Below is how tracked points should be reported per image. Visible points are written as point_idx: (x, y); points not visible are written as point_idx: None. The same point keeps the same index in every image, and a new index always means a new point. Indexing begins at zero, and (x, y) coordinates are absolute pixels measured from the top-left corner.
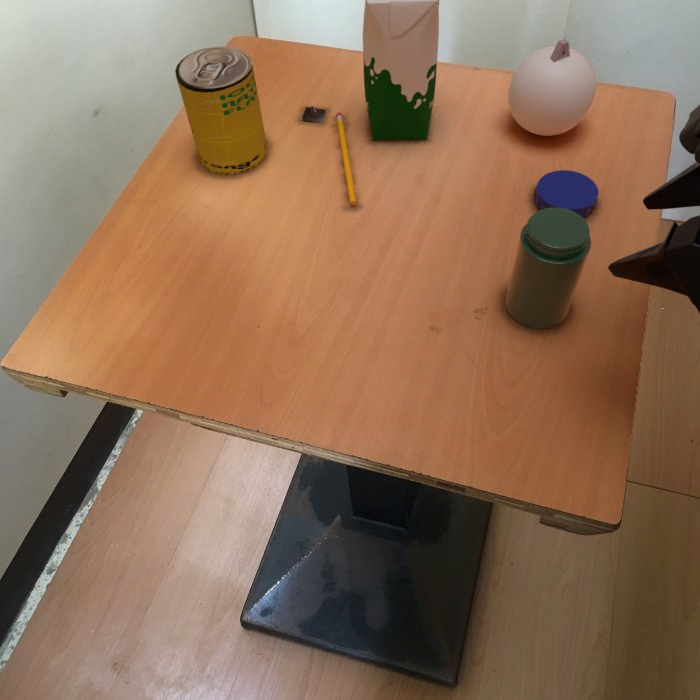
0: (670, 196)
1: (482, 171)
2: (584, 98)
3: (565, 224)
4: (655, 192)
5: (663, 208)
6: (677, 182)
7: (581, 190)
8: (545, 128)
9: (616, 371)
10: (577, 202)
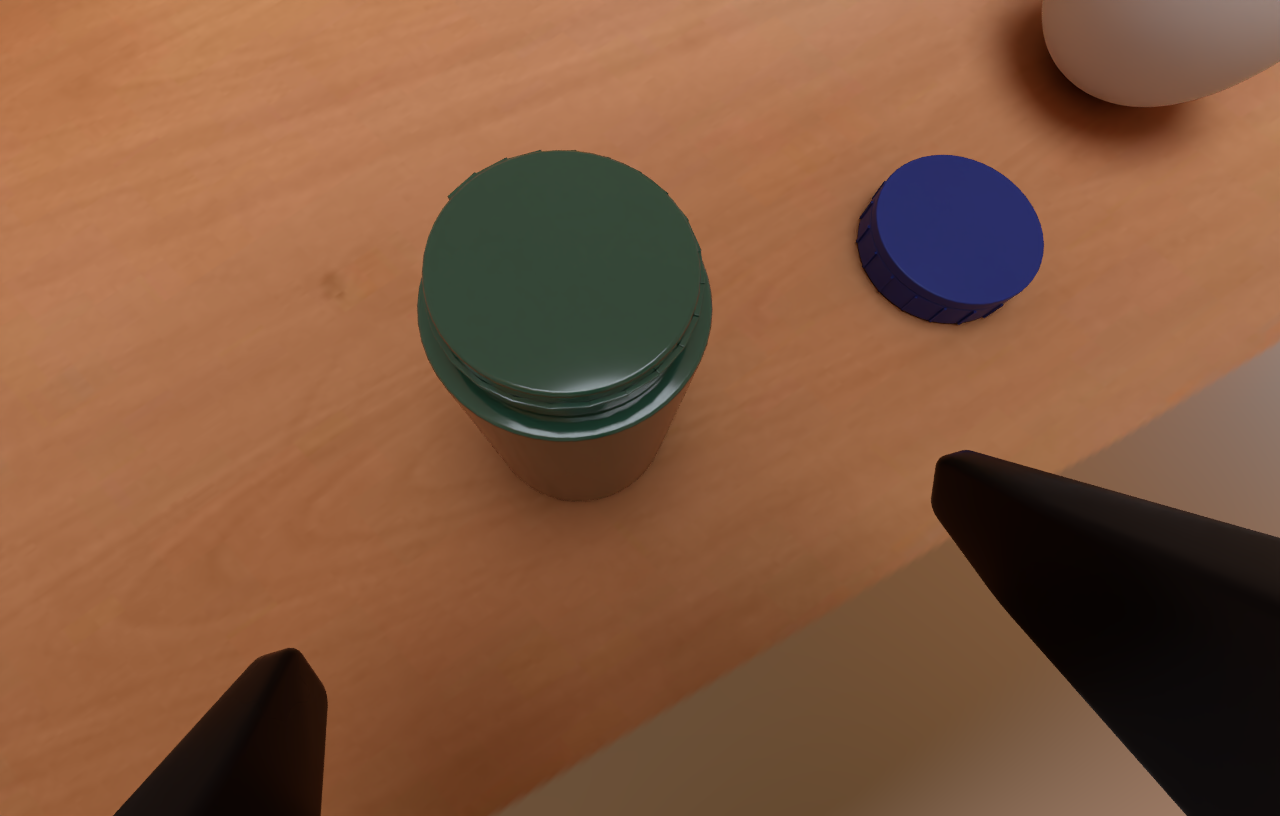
0: (1078, 594)
1: (852, 58)
2: (1262, 19)
3: (598, 273)
4: (1025, 490)
5: (989, 586)
6: (1218, 599)
7: (987, 254)
8: (1080, 50)
9: (534, 728)
10: (942, 273)
